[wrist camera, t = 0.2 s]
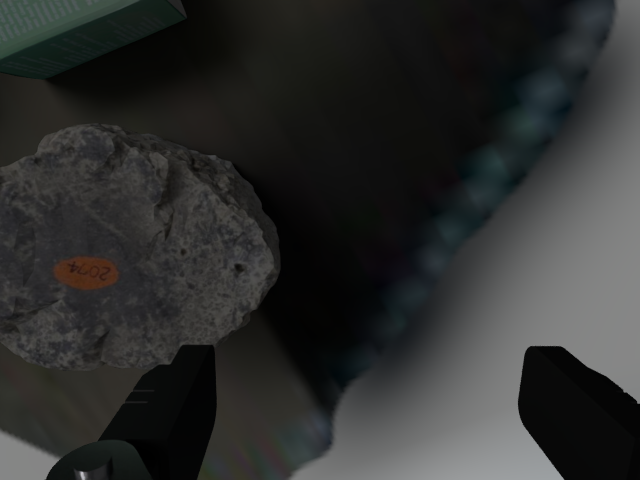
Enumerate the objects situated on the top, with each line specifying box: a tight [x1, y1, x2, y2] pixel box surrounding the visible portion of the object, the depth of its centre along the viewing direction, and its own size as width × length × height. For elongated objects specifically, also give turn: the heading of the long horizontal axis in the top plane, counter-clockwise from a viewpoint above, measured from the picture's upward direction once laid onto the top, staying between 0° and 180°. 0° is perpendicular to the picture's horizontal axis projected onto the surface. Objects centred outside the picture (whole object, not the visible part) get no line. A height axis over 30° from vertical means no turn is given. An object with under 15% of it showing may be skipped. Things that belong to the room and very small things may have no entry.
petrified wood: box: [0, 123, 281, 371], centre depth 31 cm, size 19×17×15 cm
